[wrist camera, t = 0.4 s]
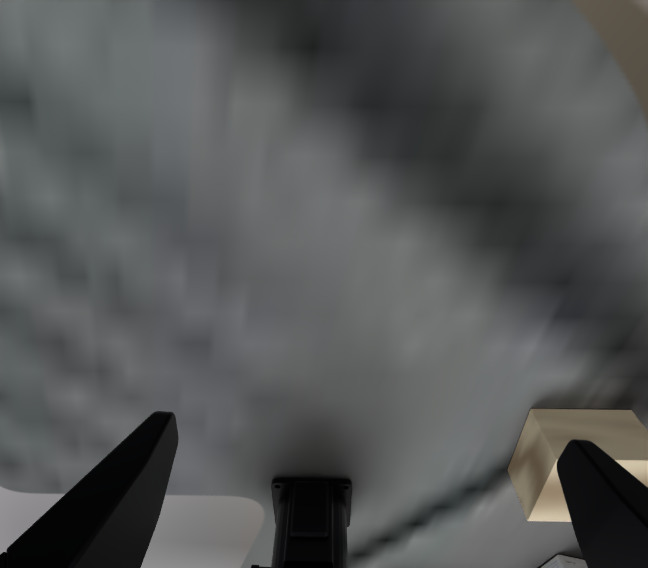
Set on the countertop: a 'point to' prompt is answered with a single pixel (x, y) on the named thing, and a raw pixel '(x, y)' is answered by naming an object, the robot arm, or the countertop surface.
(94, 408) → the countertop surface
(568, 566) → the light bulb box
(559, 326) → the countertop surface
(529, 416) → the birch block
